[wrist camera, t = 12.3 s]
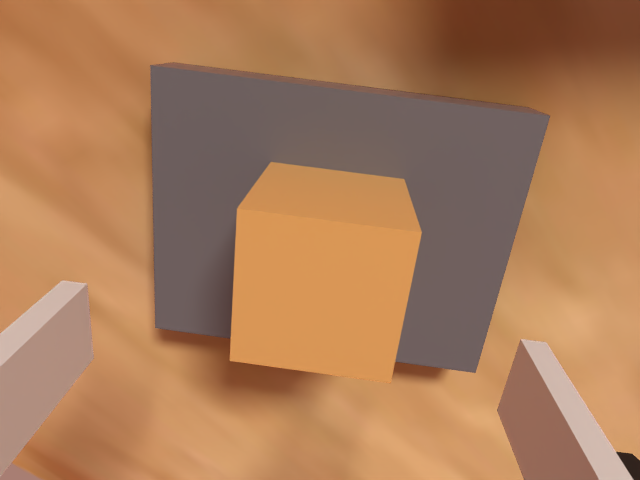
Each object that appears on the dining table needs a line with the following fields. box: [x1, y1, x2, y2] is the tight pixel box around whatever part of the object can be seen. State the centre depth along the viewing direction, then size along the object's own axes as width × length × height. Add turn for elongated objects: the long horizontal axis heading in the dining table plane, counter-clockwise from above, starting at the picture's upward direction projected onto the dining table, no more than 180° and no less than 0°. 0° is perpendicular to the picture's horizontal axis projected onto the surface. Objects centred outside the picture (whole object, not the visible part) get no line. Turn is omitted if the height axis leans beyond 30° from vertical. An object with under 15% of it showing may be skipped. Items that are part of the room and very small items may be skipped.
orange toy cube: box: [230, 162, 422, 383], centre depth 21 cm, size 6×6×7 cm
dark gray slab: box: [150, 63, 550, 373], centre depth 26 cm, size 18×14×3 cm
